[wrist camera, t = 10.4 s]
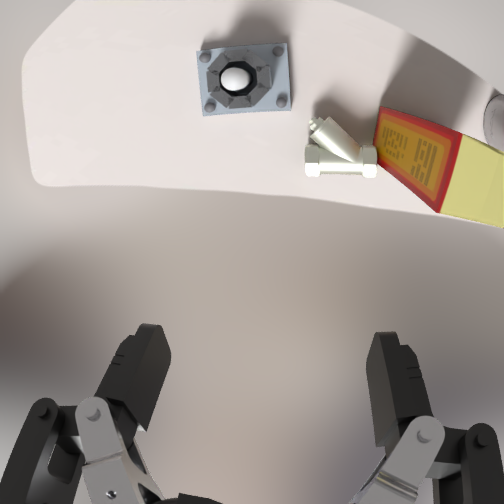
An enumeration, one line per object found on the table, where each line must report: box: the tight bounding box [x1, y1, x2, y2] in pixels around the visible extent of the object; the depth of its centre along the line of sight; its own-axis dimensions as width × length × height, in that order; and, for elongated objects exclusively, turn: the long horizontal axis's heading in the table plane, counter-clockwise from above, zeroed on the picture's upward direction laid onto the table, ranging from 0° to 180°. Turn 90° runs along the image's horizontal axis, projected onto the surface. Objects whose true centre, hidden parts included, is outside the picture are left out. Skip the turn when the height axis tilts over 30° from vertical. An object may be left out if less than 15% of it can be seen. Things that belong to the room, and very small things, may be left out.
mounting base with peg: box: [196, 43, 291, 116], centre depth 28 cm, size 10×8×8 cm
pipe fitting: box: [305, 117, 377, 178], centre depth 32 cm, size 8×4×7 cm
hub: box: [206, 49, 272, 109], centre depth 28 cm, size 6×6×5 cm
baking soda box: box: [373, 106, 504, 228], centre depth 25 cm, size 10×6×16 cm
